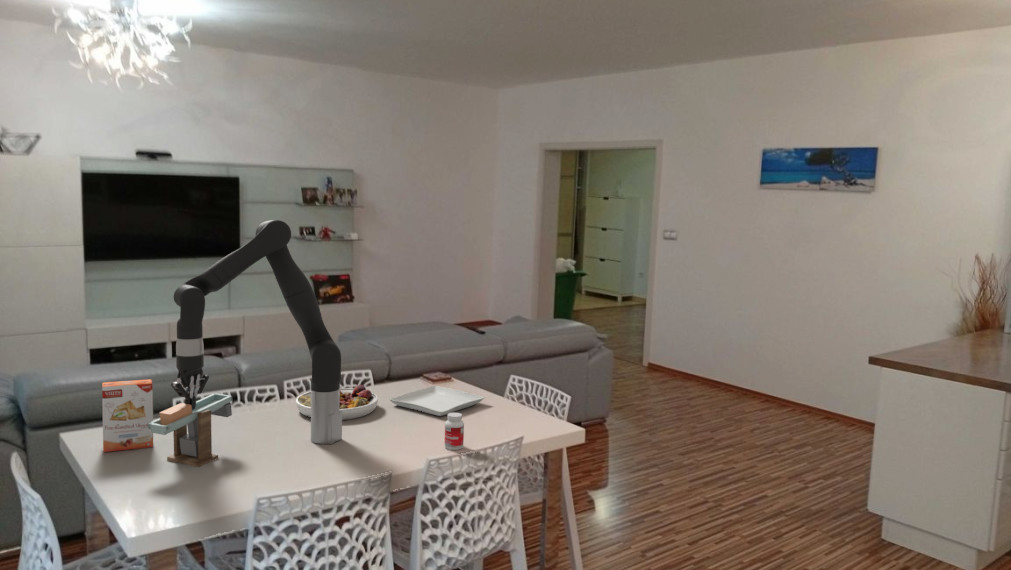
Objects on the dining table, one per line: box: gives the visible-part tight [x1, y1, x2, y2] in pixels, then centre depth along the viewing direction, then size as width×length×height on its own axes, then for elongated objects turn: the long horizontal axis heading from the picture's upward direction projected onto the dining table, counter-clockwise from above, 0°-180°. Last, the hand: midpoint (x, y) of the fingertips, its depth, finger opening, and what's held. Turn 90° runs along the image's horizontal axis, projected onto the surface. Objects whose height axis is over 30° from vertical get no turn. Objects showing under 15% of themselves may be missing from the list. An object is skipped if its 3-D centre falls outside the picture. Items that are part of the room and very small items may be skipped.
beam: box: [148, 392, 234, 457], centre depth 222 cm, size 7×26×14 cm, turn 158°
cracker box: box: [101, 378, 154, 453], centre depth 229 cm, size 14×6×21 cm, turn 118°
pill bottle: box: [444, 412, 465, 451], centre depth 240 cm, size 6×6×11 cm
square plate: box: [389, 385, 486, 417], centre depth 288 cm, size 27×27×4 cm
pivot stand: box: [166, 410, 219, 468], centre depth 221 cm, size 12×8×16 cm, turn 68°
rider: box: [159, 402, 192, 425], centre depth 214 cm, size 4×8×4 cm, turn 158°
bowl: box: [295, 384, 379, 421], centre depth 277 cm, size 30×30×8 cm
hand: (190, 409), depth 220 cm, fingers closed
